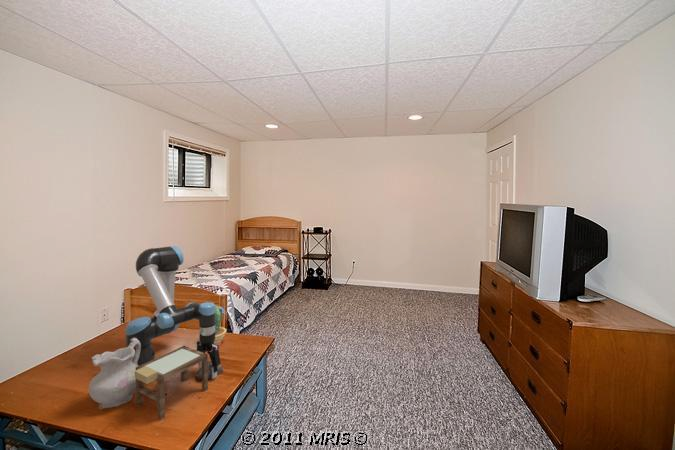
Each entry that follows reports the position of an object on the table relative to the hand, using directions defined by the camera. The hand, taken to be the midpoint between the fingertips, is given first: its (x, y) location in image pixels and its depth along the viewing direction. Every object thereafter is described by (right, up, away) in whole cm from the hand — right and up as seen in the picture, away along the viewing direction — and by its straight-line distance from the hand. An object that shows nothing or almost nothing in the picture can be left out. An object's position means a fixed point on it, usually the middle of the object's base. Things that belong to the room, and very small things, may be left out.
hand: (208, 375), depth 148 cm
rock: (0, -1, 0) cm, 1 cm away
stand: (-8, -1, -17) cm, 19 cm away
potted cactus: (-12, +2, +34) cm, 36 cm away
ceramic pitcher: (-32, -1, -18) cm, 37 cm away
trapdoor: (-9, +14, -20) cm, 26 cm away
